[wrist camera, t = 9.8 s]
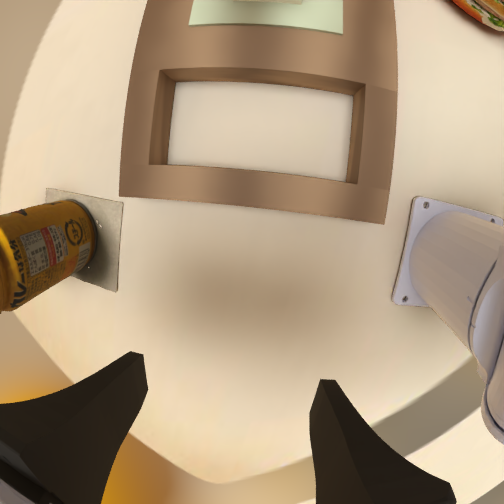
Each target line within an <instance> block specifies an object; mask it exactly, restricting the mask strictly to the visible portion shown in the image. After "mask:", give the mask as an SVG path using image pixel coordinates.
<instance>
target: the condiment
mask: <svg viewBox="0 0 504 504" xmlns="http://www.w3.org/2000/svg"><path fill="white" fill-rule="evenodd" d="M122 207H123V203H121V202H115V201H111V200H106V199H100V198H95V197H90V196H85V195H81V194H76V193H71V192H66V191H61V190H55V189H49V188H46V204H42V205H38V206H33V207H28V208H26V209H21V210H19V211H15V212H11V213H8V214H3V215H0V314H1V311H13V310H15V309H17V308H19V307H20V306H22V305H23V304H25V303H26V302H28V301H30V300H31V299H33V298H34V297H36V296H37V295H39V294H41V293H42V292H44V291H45V290H47V289H49V288H50V287H52V286H54V285H56V284H57V283H59V282H60V281H62V280H63V279H65V278H67V277H68V276H73V277H76V278H78V279H80V280H82V281H84V282H89V283H91V284H94V285H97V286H100V287H102V288H105V289H107V290H110V291H113V292H116V290H117V276H118V262H119V245H120V229H121V221H122ZM96 220H97V221H98V224H97V222H96ZM99 224H100V225H101V226H102V228H101V227H100V226H99ZM88 266H89V268H88Z"/></svg>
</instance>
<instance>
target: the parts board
mask: <svg viewBox="0 0 504 504" xmlns="http://www.w3.org/2000/svg"><path fill="white" fill-rule="evenodd" d="M188 81H232V82H254V83H268V84H279V85H289V86H298V87H306V88H313V89H319V90H326V91H332V92H337V93H343V94H348V95H353V96H354V97H353V113H352V126H351V138H350V149H349V158H348V168H347V176H346V182H342V181H335V180H329V179H322V178H315V177H307V176H300V175H292V174H283V173H275V172H265V171H255V170H244V169H233V168H220V167H204V166H186V165H167V157H168V145H169V135H170V125H171V116H172V107H173V99H174V92H175V84H176V82H188ZM397 93H398V61H397V36H396V21H395V10H394V1H393V0H302V2H301V5H299V4H290V3H277V2H258V1H233V0H148V1H147V4H146V8H145V11H144V15H143V19H142V23H141V27H140V31H139V35H138V40H137V44H136V49H135V54H134V59H133V64H132V69H131V75H130V81H129V87H128V94H127V101H126V109H125V117H124V126H123V136H122V147H121V162H120V181H119V196H120V197H137V198H153V199H167V200H181V201H193V202H205V203H216V204H226V205H236V206H246V207H256V208H265V209H274V210H282V211H291V212H299V213H307V214H314V215H322V216H329V217H336V218H343V219H350V220H357V221H364V222H370V223H377V224H383V225H384V224H385V218H386V212H387V205H388V199H389V192H390V184H391V176H392V168H393V158H394V147H395V135H396V119H397Z"/></svg>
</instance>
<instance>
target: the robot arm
mask: <svg viewBox="0 0 504 504" xmlns="http://www.w3.org/2000/svg"><path fill="white" fill-rule="evenodd" d="M424 202H427V207H426V208H424V207H423V204H424ZM491 219H492V222H491ZM404 296H406V299H405V300H402V299H403V297H404ZM392 300H393V302H394V303H395V304H397V305H409V306H424V307H431V308H432V309H433V310H434V311H435V312H436V313H437V315H438V316H439V317H440V318H441V319H442V320H443V321H444V322H445V323H446V324H447V326H448V327H449V328H450V329H451V330H452V331H453V332H454V333H455V335H456V336H457V337H458V338H459V339H460V340H461V341H462V343H463V344H464V345H465V346H466V347H467V348H468V350H469V351H470V352H471V353H472V354H473V355H474V356H475V358H476V360H477V362H478V370H477V373H478V374H479V376H480V377H481V378H482V380H483V381H484V382H485V384H486V388H485V390H484V393H483V396H482V402H481V413H482V417H483V421H484V423H485V425H486V427H487V429H488V430H489V432H490V433H491V434H492V435H493V436H494V438H495V439H497V440H498V441H499V442H501V443H502V444H504V227H503V219H502V218H500V217H497V216H494V215H490V214H487V213H484V212H480V211H476V210H473V209H469V208H465V207H462V206H458V205H454V204H450V203H446V202H442V201H438V200H433V199H429V198H425V197H420V196H417V197H415V198H414V199H413V203H412V209H411V215H410V221H409V226H408V232H407V237H406V242H405V247H404V251H403V256H402V260H401V264H400V269H399V273H398V277H397V281H396V285H395V288H394V292H393V296H392ZM147 391H148V385H147V379H146V372H145V365H144V357H143V354H139V353H135V352H131V351H130V352H128V353H127V354H125V355H123V356H122V357H120V358H119V359H117V360H115V361H114V362H112V363H111V364H109V365H108V366H106V367H104V368H103V369H101V370H99V371H98V372H96V373H94V374H93V375H91V376H89V377H87V378H85V379H83V380H82V381H80V382H78V383H76V384H74V385H72V386H70V387H68V388H65V389H63V390H60V391H58V392H55V393H52V394H49V395H46V396H42V397H39V398H36V399H31V400H27V401H22V402H15V403H6V404H0V504H101V501H102V497H103V493H104V490H105V486H106V483H107V480H108V476H109V474H110V471H111V468H112V465H113V463H114V460H115V457H116V455H117V452H118V450H119V448H120V446H121V444H122V442H123V440H124V439H125V437H126V435H127V433H128V431H129V430H130V428H131V426H132V424H133V422H134V421H135V419H136V417H137V415H138V413H139V411H140V409H141V407H142V405H143V402H144V400H145V397H146V394H147ZM310 440H311V448H312V455H313V462H314V469H315V478H316V504H456V498H455V495H454V492H453V490H452V487H451V485H450V483H449V482H446V481H444V480H442V479H440V478H437V477H435V476H433V475H431V474H429V473H427V472H425V471H424V470H422V469H420V468H418V467H417V466H415V465H414V464H412V463H411V462H409V461H408V460H406V459H405V458H404V457H402V456H401V455H399V454H398V453H397V452H396V451H394V450H393V449H392V448H390V446H389V445H387V444H386V443H385V442H384V441H383V440H382V439H381V438H380V437H379V436H378V435H377V434H376V433H375V432H374V431H373V430H372V429H371V427H370V426H369V425H368V424H367V423H366V422H365V420H364V419H363V418H362V417H361V415H360V414H359V413H358V411H357V410H356V409H355V408H354V406H353V405H352V403H351V402H350V401H349V399H348V398H347V396H346V395H345V393H344V392H343V391H342V389H341V388H340V386H339V385H338V383H337V382H336V380H326V379H320V382H319V385H318V388H317V392H316V395H315V398H314V401H313V404H312V407H311V410H310Z"/></svg>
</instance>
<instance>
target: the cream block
mask: <svg viewBox="0 0 504 504" xmlns="http://www.w3.org/2000/svg"><path fill="white" fill-rule="evenodd" d="M233 1H258V2H277V3H290V4H299V5H301V2H302V0H233Z"/></svg>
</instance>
